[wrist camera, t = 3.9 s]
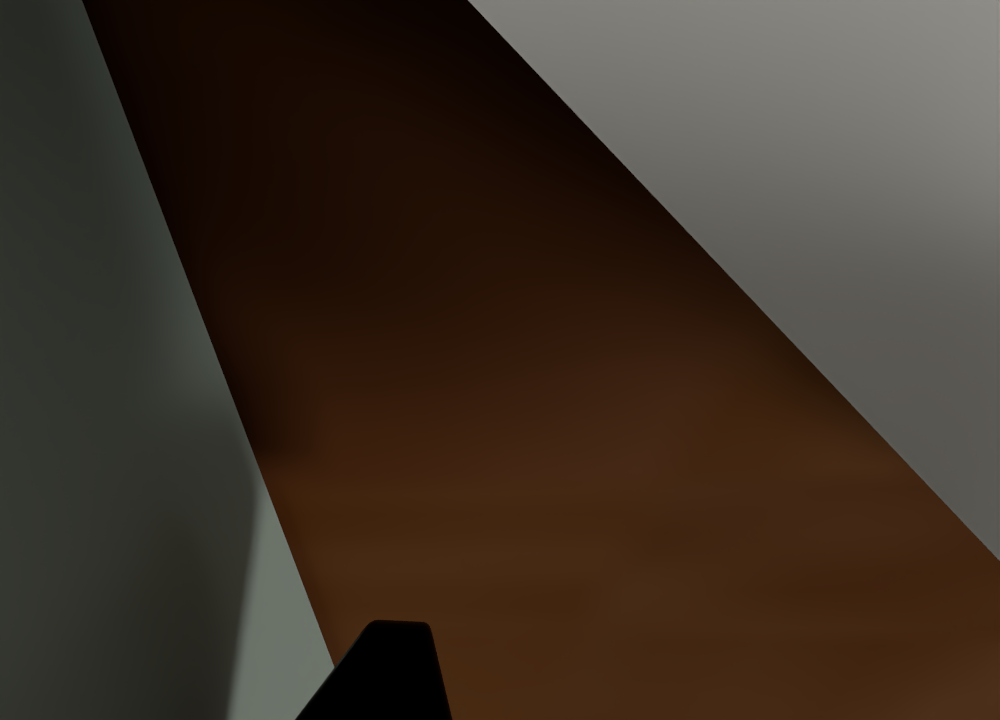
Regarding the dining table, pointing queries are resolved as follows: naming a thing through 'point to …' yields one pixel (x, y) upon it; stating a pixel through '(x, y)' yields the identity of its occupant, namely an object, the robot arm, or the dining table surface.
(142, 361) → the door
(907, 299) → the case
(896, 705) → the dining table surface
